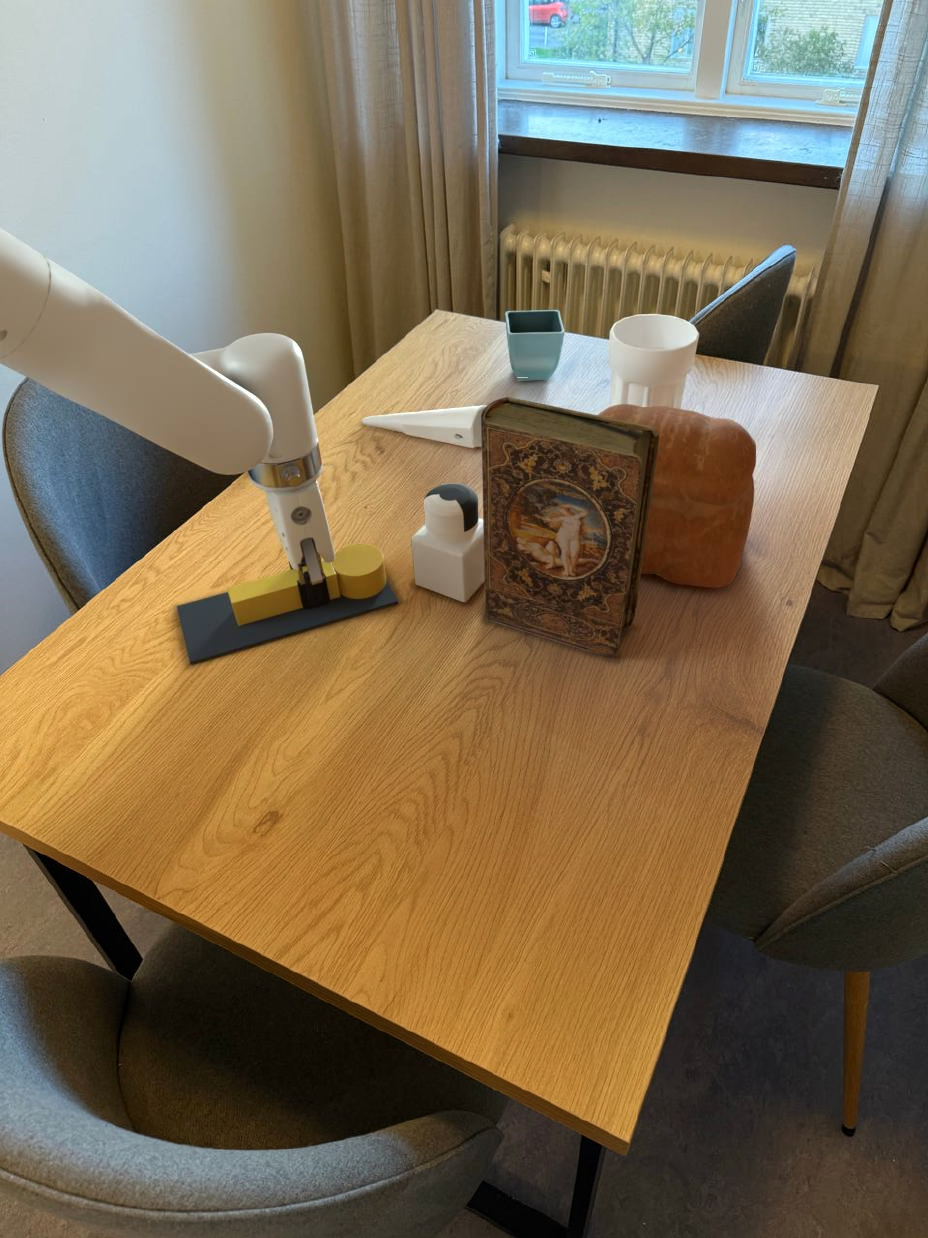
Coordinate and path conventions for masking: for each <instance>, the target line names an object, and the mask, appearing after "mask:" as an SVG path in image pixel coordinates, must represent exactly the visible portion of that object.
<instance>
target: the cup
mask: <svg viewBox="0 0 928 1238" xmlns="http://www.w3.org/2000/svg"><path fill="white" fill-rule="evenodd" d="M699 338H700V333H699V331H698V330H697V327H696V326H695V325H694V324H692V323H690V322H689V321H687V320H686V319H683V318H680V317H677V316H673V315H668V314H667V315H666V314H659V313H646V314H645V313H644V314H635V315H630V316H627V317H623V318H621V319H620V320H618V321H616V322H615V323H614V324H613V325H612V326H611V328H610V330H609V338H608V339H609V341H608V359H607V362H608V365H609V367H610V369H611V379H610V381H611V382H610V397H609V398H610V399H609V407H612V406H615V405H620V404H630V405H635V406H639V407H654V406H656V407H671V408H677V409H682V408H681V407H682V403H683V397H684V393H685V392H684V391H685V387H686V382H687V377H688V375H689V374H690V373H691V371H692V369H693V366H694V362H695V358H696V353H697V347H698V344H699Z"/></svg>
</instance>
